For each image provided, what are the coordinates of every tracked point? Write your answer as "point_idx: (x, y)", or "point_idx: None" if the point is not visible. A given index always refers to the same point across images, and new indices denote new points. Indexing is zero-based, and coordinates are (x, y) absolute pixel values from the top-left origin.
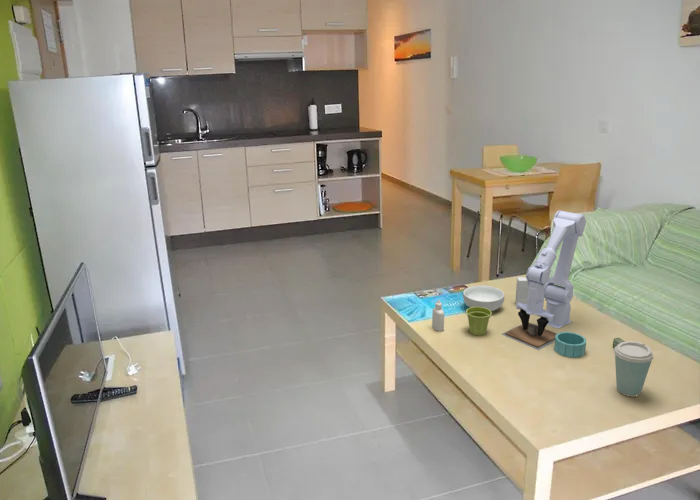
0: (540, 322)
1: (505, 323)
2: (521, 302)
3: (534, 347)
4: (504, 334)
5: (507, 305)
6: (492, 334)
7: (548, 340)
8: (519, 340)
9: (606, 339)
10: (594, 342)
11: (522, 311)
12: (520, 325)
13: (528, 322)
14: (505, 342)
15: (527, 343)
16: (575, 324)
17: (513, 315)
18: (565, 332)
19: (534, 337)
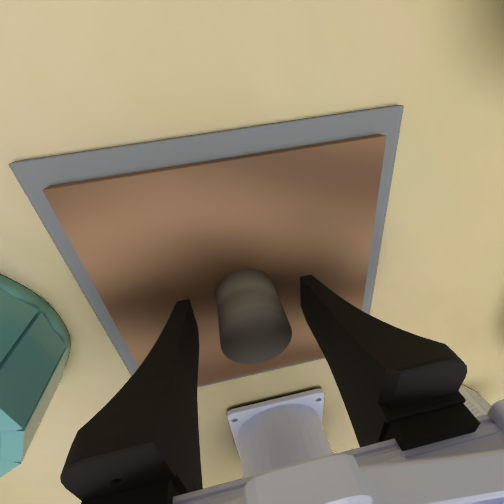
0: (102, 430)
1: (445, 259)
2: None
3: (69, 169)
4: (380, 127)
5: (500, 365)
6: (460, 43)
7: (116, 318)
8: (235, 154)
9: (59, 488)
10: (46, 456)
11: (432, 410)
12: (367, 305)
13: (319, 344)
14: (294, 14)
15: (156, 169)
16: (222, 461)
17: (445, 339)
18: (11, 454)
19: (197, 272)
